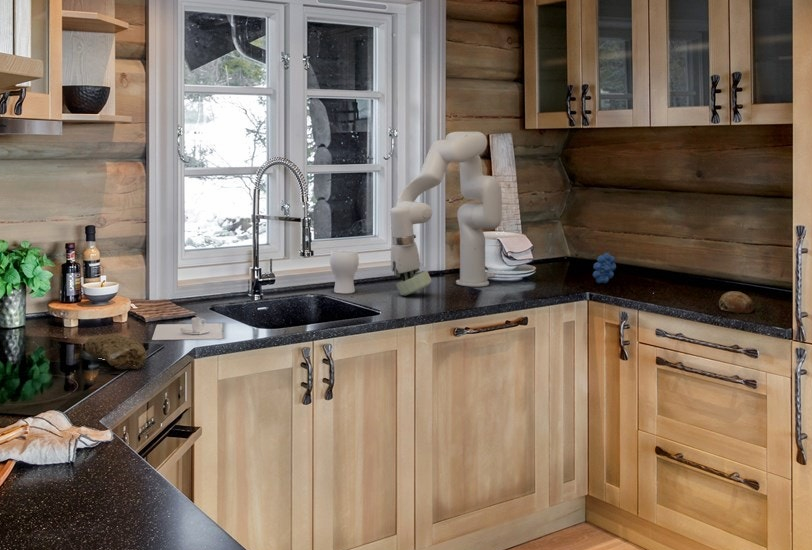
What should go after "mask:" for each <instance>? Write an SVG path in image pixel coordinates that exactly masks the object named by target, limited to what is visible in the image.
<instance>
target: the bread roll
mask: <svg viewBox="0 0 812 550" xmlns="http://www.w3.org/2000/svg"><path fill="white" fill-rule="evenodd" d="M718 305H719V309H720V311H725V312H731V313H734V314H750V313H752V312H753V311H754V308H755V307H754V306H755V305H754V302H753V300H752V298H751V297H750V296H749V295H747V294H746V293H743V292H741V291H738V290H737V291H734V290H732V291H727V292H725V293H723V294H722V295H721V296H720V298H719V300H718Z"/></svg>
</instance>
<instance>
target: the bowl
mask: <svg viewBox="0 0 812 550" xmlns="http://www.w3.org/2000/svg"><path fill="white" fill-rule="evenodd" d="M432 282H433V280H432V278H431V276H430V274H429V272H428V270H427V269H425V270H422V271H418V272H416V273H415V274H414V277H412V278H410V279H408V280H405V281H403V279H401V280H400V281H397V282H396V283H395V284H394V285H395V286H396V289H397V291H398V293H399V295H400V296H404V297H405V296H409V295H412V294H414V293H416V292H418V291H421V290H423V289H425V288H426V287H428V286H430V285H431V284H432Z"/></svg>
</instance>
